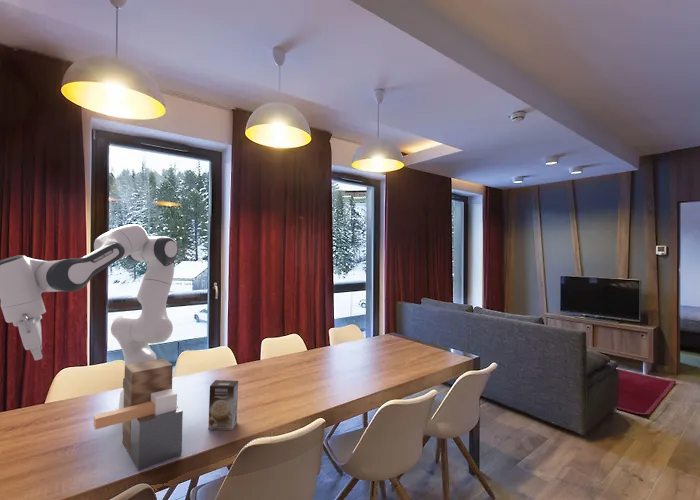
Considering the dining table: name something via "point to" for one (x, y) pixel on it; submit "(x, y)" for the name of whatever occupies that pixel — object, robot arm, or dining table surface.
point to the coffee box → (223, 405)
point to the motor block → (156, 438)
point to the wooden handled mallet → (139, 409)
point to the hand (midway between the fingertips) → (38, 354)
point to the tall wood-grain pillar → (144, 386)
